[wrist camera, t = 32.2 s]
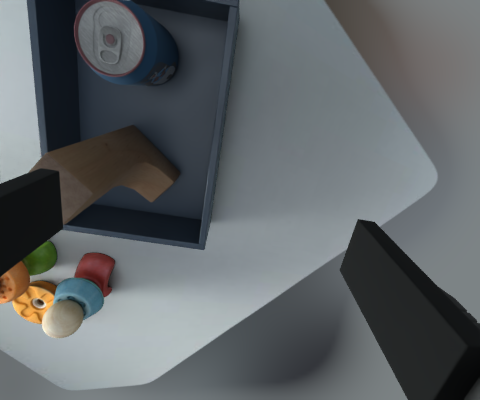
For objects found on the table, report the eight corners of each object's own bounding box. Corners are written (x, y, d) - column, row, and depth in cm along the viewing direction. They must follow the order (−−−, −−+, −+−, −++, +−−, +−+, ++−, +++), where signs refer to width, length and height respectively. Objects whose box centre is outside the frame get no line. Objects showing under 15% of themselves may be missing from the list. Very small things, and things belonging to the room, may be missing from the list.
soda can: (127, 14, 33) (67, -25, 21) (185, 32, 33) (158, 3, 22) (120, 77, 35) (64, 71, 24) (175, 93, 36) (145, 94, 24)
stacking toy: (17, 311, 50) (-51, 378, 38) (2, 225, 44) (-85, 273, 32) (119, 323, 51) (83, 392, 39) (119, 240, 45) (76, 293, 33)
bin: (72, -15, 32) (22, -46, 25) (239, 17, 34) (239, -3, 26) (81, 203, 42) (47, 227, 35) (210, 222, 43) (204, 250, 36)
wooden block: (182, 172, 40) (139, 233, 23) (160, 192, 41) (104, 264, 24) (133, 123, 37) (45, 150, 20) (111, 145, 38) (10, 189, 21)
